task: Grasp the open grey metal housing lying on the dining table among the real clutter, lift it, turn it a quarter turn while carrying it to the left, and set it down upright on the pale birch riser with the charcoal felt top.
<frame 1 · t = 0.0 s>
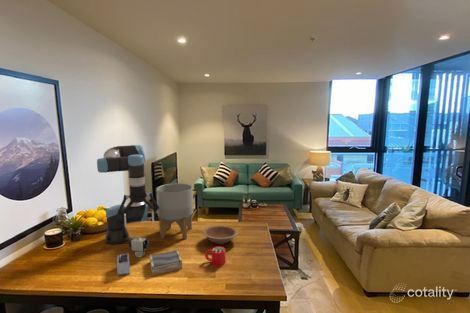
hand: (139, 224, 137), 28 cm above the table, fingers open, 13 cm apart
housing: (123, 270, 144), on the table
mug: (215, 262, 152), on the table
bowl: (220, 241, 177), on the table
stand: (165, 265, 149), on the table
pneumatic valve: (140, 256, 159), on the table
planter: (176, 233, 190), on the table
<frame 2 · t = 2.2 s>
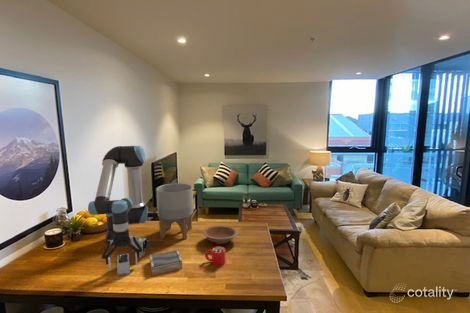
hand: (123, 266, 143), 2 cm above the table, fingers open, 13 cm apart
nothing on the table moved.
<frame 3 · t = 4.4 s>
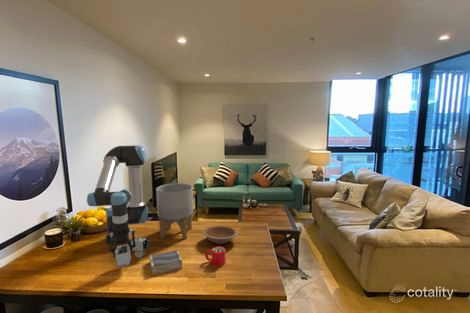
hand: (123, 260, 144), 5 cm above the table, fingers closed on housing, 6 cm apart
housing: (123, 261, 144), point 5 cm above the table, touching gripper
everything else where it was.
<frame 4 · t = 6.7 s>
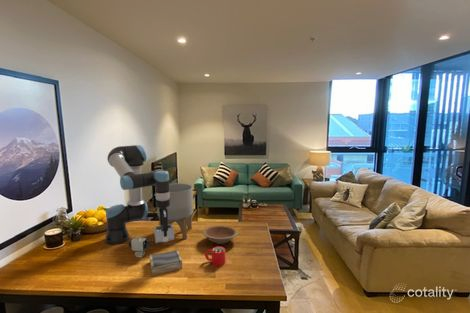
hand: (164, 238, 146), 16 cm above the table, fingers closed on housing, 6 cm apart
housing: (164, 239, 146), point 16 cm above the table, touching gripper
everything else where it was.
when the fingers open (5 cm above the table, at t = 9.3 s): housing stays where it is, resting on stand.
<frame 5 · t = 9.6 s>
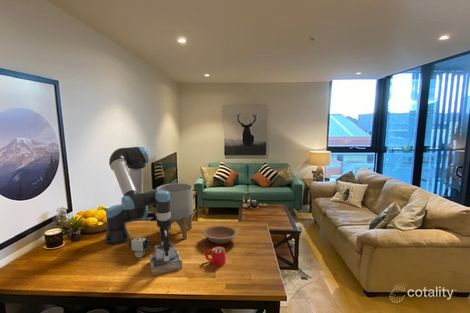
hand: (165, 256, 148), 6 cm above the table, fingers open, 9 cm apart
housing: (165, 258, 148), point 4 cm above the table, touching stand
everything else where it was.
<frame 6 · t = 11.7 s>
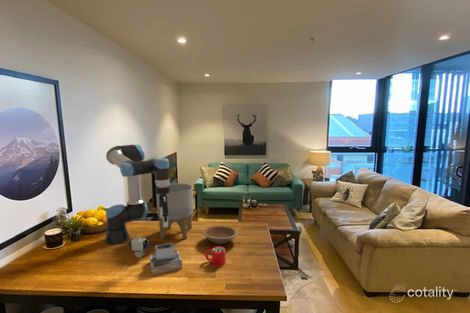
hand: (164, 222, 149), 24 cm above the table, fingers open, 13 cm apart
nothing on the table moved.
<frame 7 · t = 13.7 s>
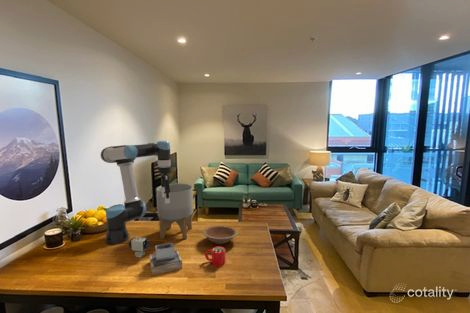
hand: (165, 200, 162), 33 cm above the table, fingers open, 13 cm apart
nothing on the table moved.
at the end: housing 0.1 cm from the stand (horizontally); housing point 4.4 cm above the table; housing tilted 0° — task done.
